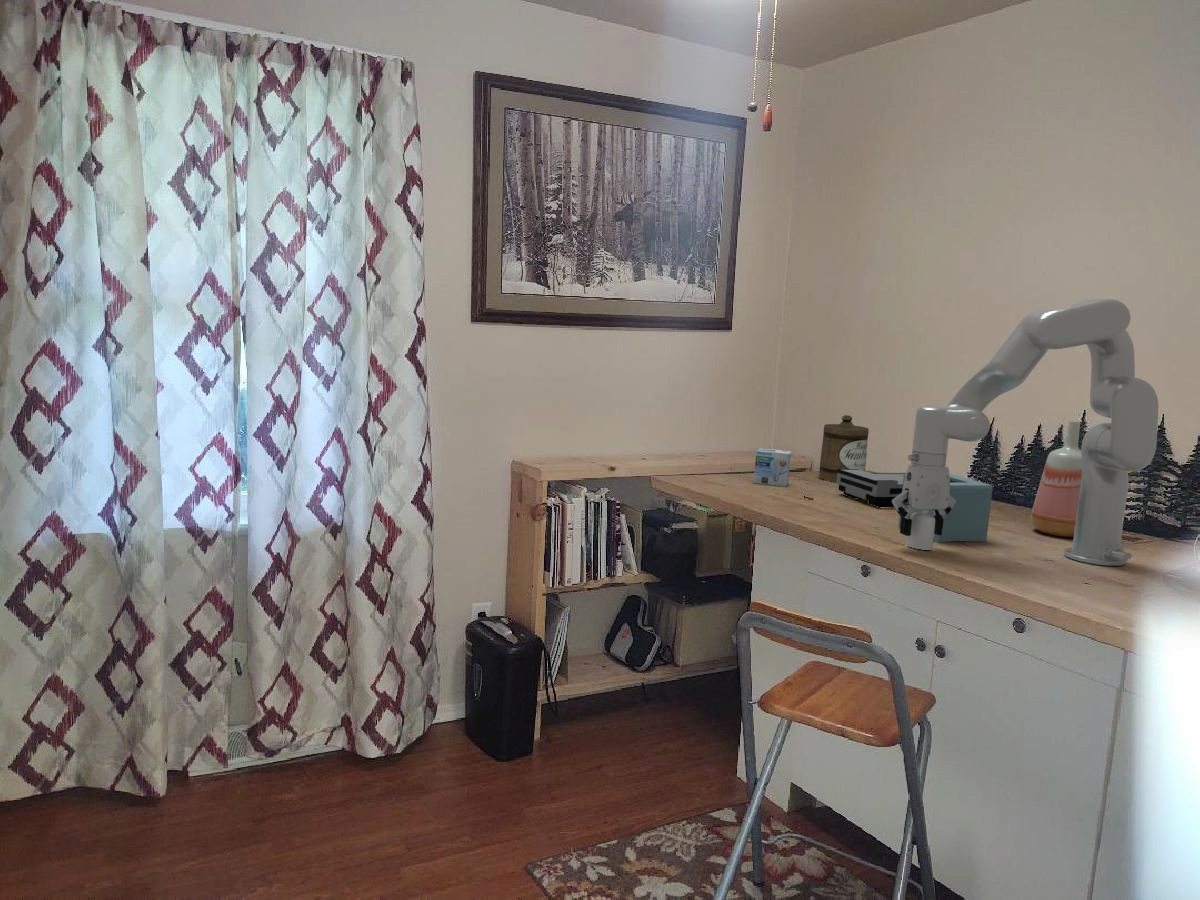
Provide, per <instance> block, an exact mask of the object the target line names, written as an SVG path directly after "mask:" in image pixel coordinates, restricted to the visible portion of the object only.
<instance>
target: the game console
mask: <svg viewBox="0 0 1200 900" xmlns="http://www.w3.org/2000/svg"><path fill="white" fill-rule="evenodd" d="M904 474H906V472H869V471H866V470H865V471H862V470H859V469H838V470H837V481H836V482H835V483H836V485H838V491H840V492H843V494H845V495H847V496H846V497H848V496H850V497H849V498H851V497H852V498H851V499H854V498H862V500H866V501H868V502H867V504H868V503H869V504H868V505H871V504H872V506H873V505H875V506H874V507H876V506H878V507H877V508H879V507H894V505H893V503H892V500H893V499H894V498H895V497H897V496H898V495H899V494H901V493H902V487H903V478H904ZM845 495H844V496H845Z"/></svg>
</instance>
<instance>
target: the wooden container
mask: <svg viewBox="0 0 1200 900" xmlns="http://www.w3.org/2000/svg"><path fill="white" fill-rule="evenodd" d="M841 420H842V421H841V422H840V423H838V424H837V423H828V424H824V426H823V436H822V443H821V444H822V445H821V452H820V459H819V471H818V478H819V479H820V478H821V480H822V479H824V480H823V481H826V480H829V481H828V482H830V481H835V482H834V483H836V481H837V470H838V469H859V470H862V471H866V466H867V455H868V454H867V452H868V450H867V449H868V440H869V430H870V429H869V428H868V427H866V426H860V425H854V424H853V422H852V421H853V416H851V415H848V414H847V415H845V414H844V415H843V416H842V417H841Z"/></svg>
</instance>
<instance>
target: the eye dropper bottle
mask: <svg viewBox="0 0 1200 900" xmlns="http://www.w3.org/2000/svg"><path fill="white" fill-rule="evenodd" d="M928 513H929V510H918V513H913V514H912V515H911V517H910V519H912V527H911V535H910V536H906V546H907V547H908V546H909V547H908V548H910V547H912V548H911V549H913V548H916V549H915V550H917V549H922V550H921V551H923V550H930V551H931V550H933V546H934V545H933V544H934V541H933V538H934V529H935V518H934V517H933V516H931V515H929V514H928Z"/></svg>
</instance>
